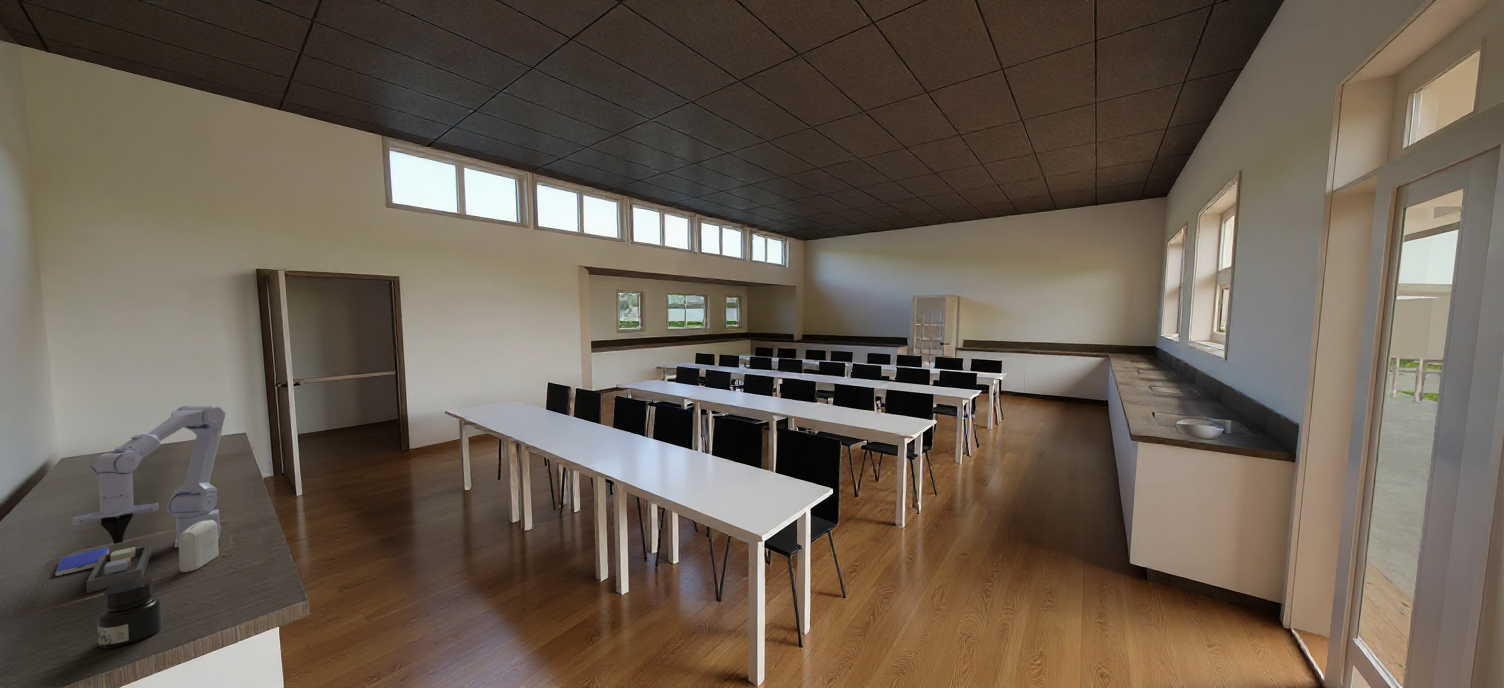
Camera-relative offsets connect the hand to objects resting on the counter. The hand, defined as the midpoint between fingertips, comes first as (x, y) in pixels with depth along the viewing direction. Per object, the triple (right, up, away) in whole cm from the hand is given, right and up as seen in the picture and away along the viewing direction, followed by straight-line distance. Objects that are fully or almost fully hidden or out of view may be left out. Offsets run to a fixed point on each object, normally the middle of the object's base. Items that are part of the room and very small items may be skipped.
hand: (118, 542), depth 135 cm
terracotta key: (+1, -8, -1) cm, 8 cm away
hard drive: (-17, -9, +5) cm, 20 cm away
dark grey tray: (0, -9, +1) cm, 9 cm away
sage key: (-2, -6, +2) cm, 7 cm away
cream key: (-6, -8, +6) cm, 11 cm away
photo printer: (+16, -9, +6) cm, 20 cm away
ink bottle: (+38, -11, -26) cm, 48 cm away
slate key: (+5, -7, -4) cm, 9 cm away
